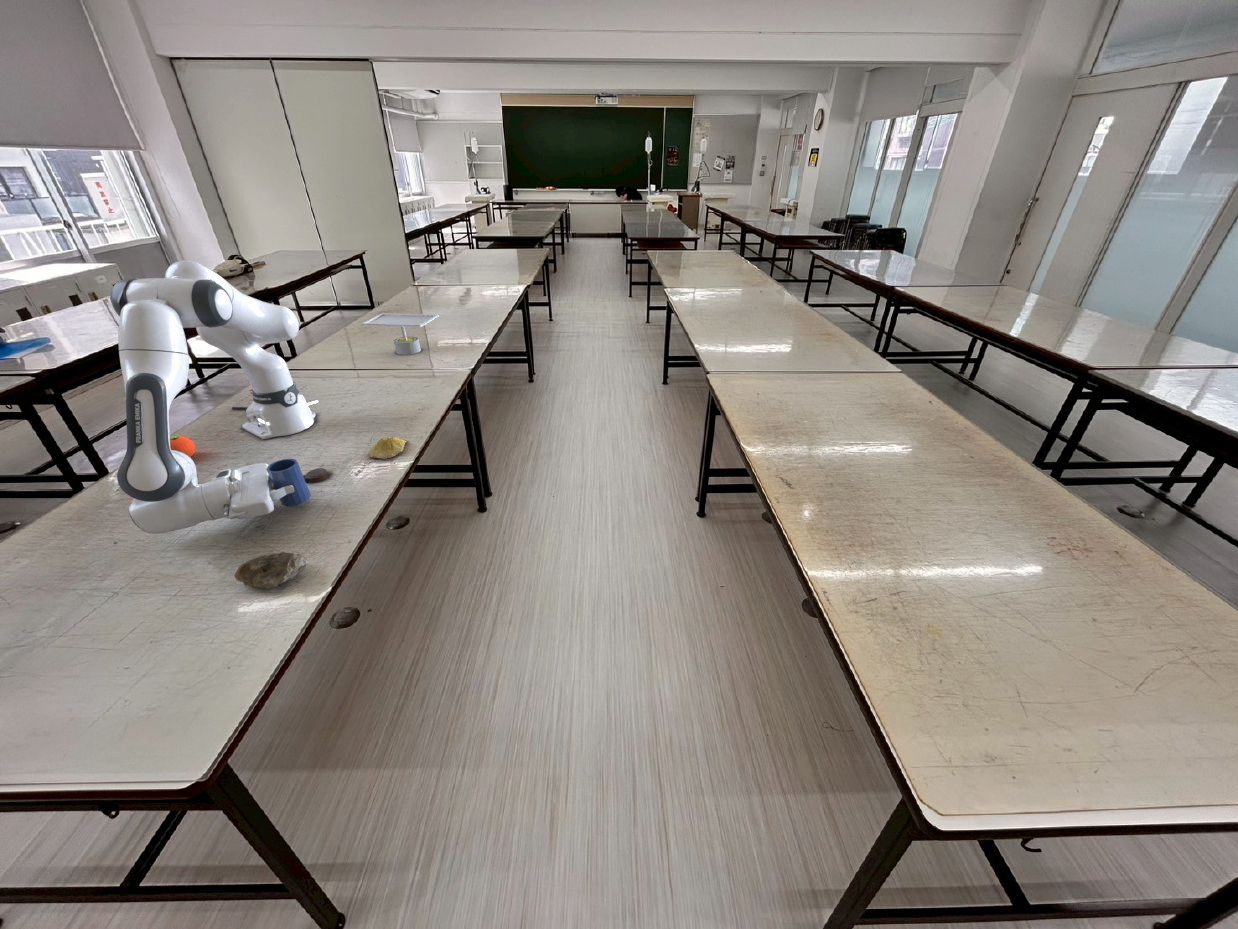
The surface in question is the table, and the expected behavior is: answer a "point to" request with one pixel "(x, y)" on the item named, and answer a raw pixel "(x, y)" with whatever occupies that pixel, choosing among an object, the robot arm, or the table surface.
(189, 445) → the clementine
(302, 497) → the cup
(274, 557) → the stone
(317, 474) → the spoon
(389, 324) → the solar panel model
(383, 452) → the fossil
